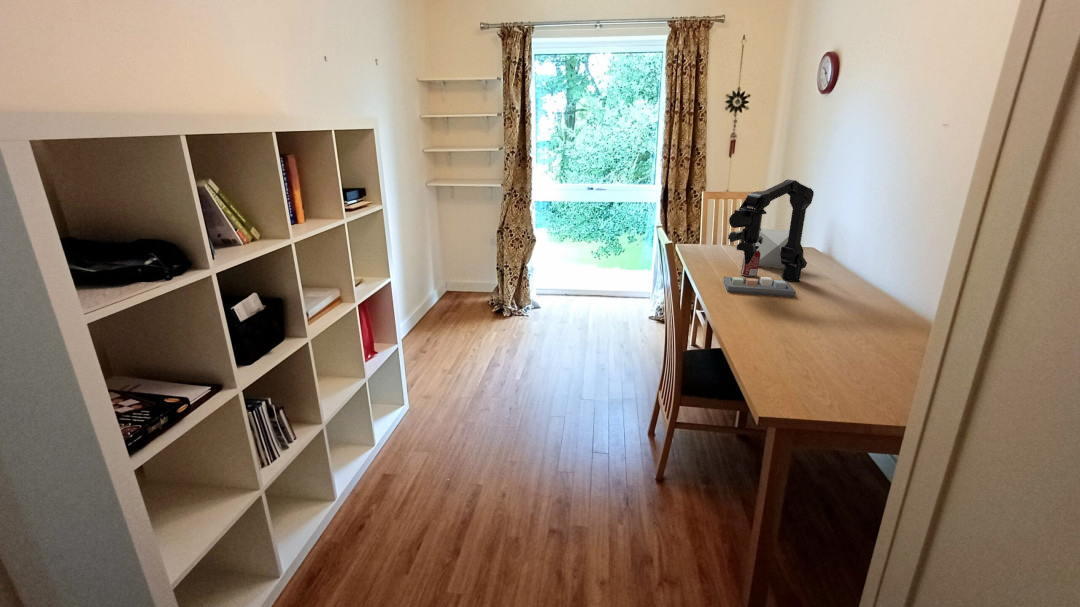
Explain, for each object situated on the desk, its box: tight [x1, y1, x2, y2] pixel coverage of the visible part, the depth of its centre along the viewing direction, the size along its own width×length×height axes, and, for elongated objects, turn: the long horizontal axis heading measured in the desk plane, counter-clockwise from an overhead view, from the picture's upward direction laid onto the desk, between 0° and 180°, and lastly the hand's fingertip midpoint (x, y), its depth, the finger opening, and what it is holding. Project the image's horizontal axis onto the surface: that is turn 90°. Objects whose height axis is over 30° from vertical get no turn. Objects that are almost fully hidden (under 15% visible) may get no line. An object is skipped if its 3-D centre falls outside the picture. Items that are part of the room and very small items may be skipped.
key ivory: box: [759, 276, 774, 286], centre depth 206 cm, size 4×4×3 cm
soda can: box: [740, 249, 760, 278], centre depth 225 cm, size 7×7×12 cm
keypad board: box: [722, 276, 797, 298], centre depth 207 cm, size 25×14×2 cm, turn 78°
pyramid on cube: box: [755, 228, 789, 270], centre depth 239 cm, size 17×24×18 cm
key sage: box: [731, 276, 744, 286], centre depth 208 cm, size 4×4×3 cm
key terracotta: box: [745, 277, 758, 287], centre depth 207 cm, size 4×4×3 cm
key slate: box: [773, 279, 787, 289], centre depth 205 cm, size 4×4×3 cm
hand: (747, 263), depth 207 cm, fingers closed
